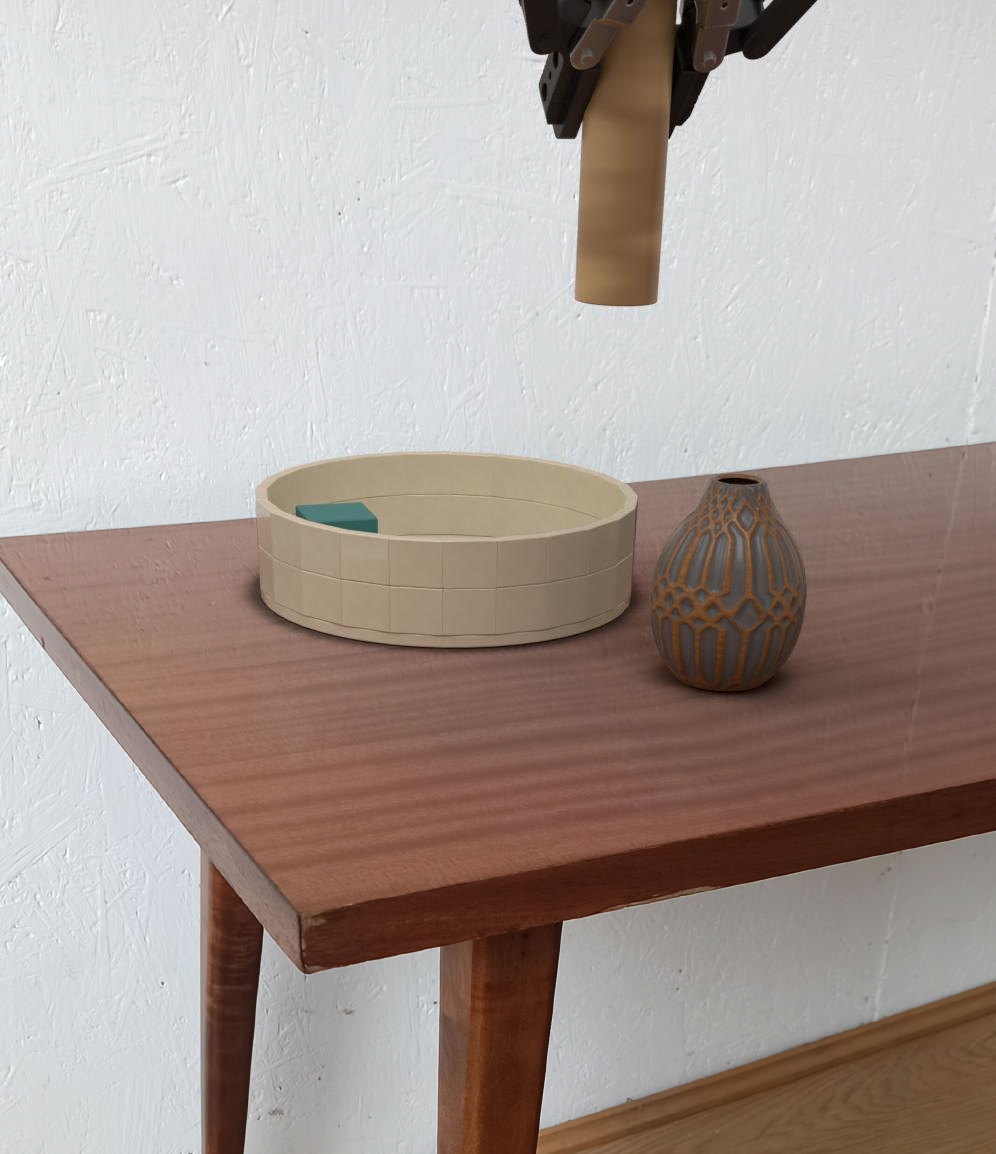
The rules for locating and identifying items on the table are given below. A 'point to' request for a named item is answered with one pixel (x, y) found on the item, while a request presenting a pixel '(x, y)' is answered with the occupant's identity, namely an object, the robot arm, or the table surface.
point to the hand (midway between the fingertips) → (606, 119)
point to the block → (340, 516)
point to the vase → (728, 589)
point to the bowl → (448, 549)
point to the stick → (626, 164)
